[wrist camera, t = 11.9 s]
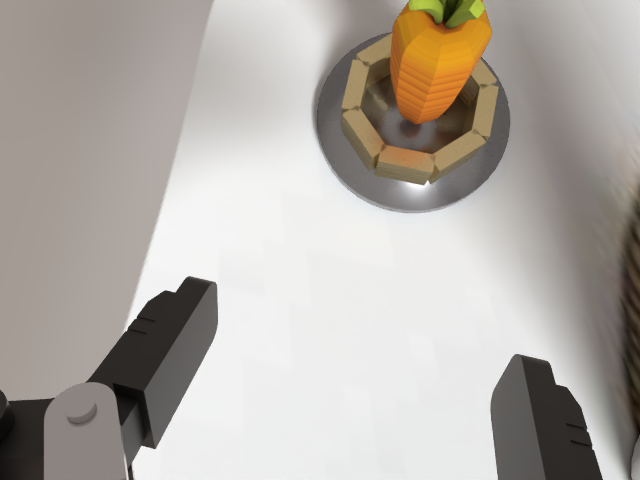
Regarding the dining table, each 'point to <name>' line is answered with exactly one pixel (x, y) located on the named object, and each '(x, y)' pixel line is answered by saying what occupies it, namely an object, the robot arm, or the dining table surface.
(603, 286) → the dining table surface
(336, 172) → the hub socket
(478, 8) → the carrot
